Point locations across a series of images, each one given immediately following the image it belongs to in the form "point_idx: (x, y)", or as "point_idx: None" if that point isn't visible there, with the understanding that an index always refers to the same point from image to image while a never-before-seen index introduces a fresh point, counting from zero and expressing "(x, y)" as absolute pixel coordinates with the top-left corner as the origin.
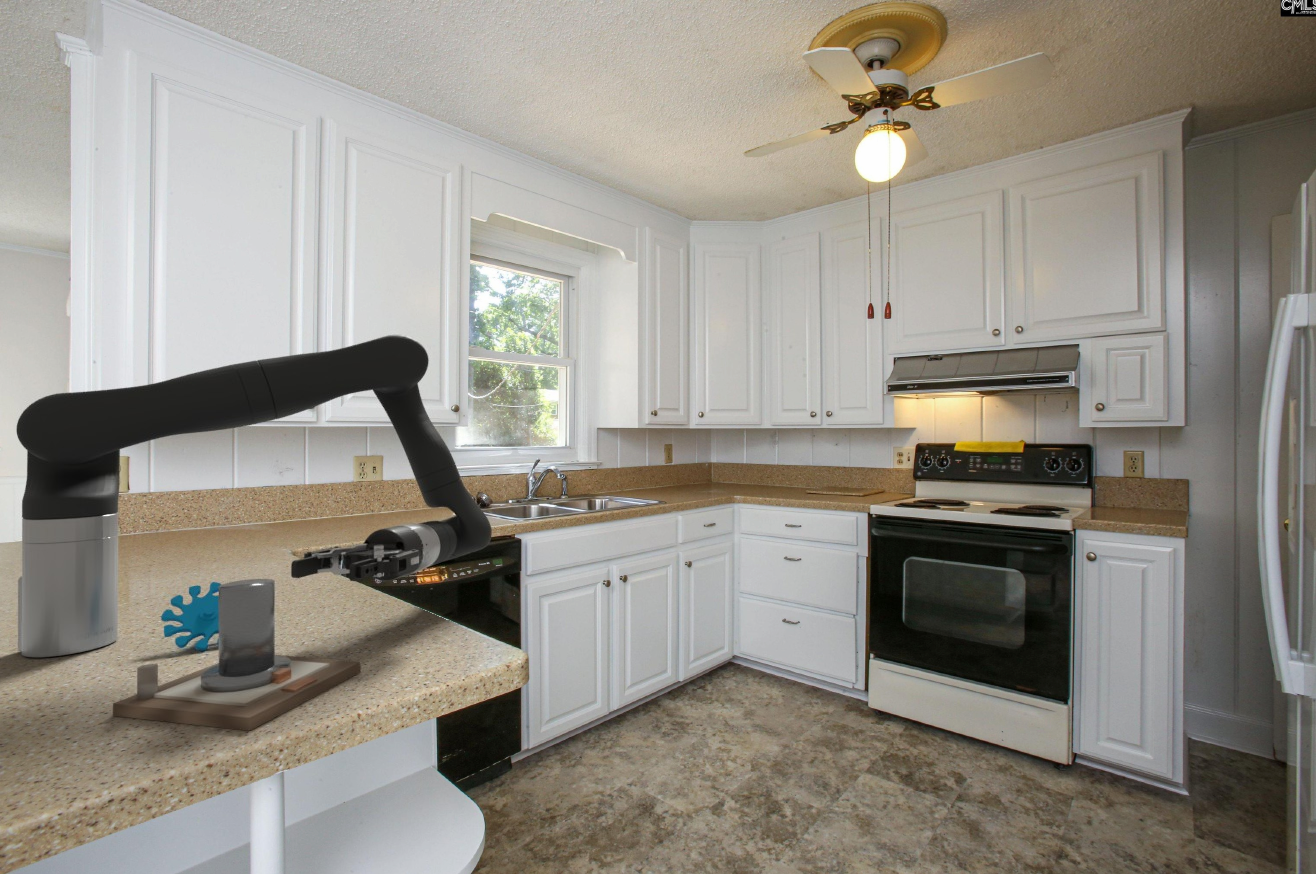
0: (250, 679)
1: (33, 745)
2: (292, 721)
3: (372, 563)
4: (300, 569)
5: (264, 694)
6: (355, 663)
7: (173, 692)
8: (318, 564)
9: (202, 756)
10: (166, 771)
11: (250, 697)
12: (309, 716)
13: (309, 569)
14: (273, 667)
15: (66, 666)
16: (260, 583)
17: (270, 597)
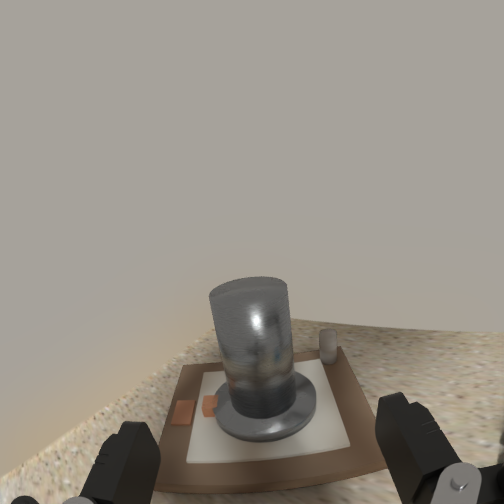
0: (226, 381)
1: (332, 328)
2: (160, 389)
3: (94, 479)
4: (382, 429)
5: (201, 386)
6: None
7: (305, 365)
8: (421, 500)
9: (192, 351)
10: (200, 340)
11: (209, 379)
12: (149, 397)
13: (396, 466)
14: (230, 406)
15: None
16: (227, 294)
17: (213, 318)
